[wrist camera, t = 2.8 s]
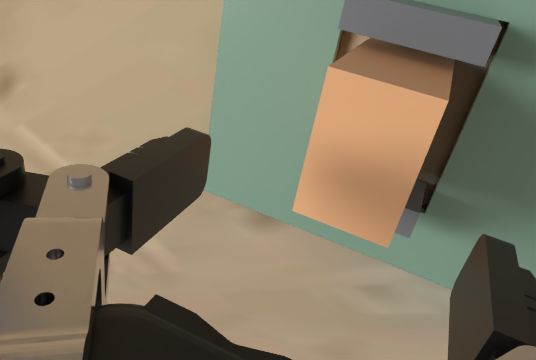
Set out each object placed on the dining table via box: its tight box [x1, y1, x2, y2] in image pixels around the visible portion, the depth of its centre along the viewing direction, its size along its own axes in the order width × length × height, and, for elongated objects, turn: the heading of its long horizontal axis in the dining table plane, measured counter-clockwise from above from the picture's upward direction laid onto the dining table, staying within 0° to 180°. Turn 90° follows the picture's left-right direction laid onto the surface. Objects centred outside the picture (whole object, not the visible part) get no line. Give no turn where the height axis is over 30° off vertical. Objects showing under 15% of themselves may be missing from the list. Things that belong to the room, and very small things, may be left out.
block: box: [292, 38, 455, 248], centre depth 19 cm, size 4×6×8 cm, turn 169°
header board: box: [204, 0, 536, 289], centre depth 20 cm, size 20×18×4 cm
